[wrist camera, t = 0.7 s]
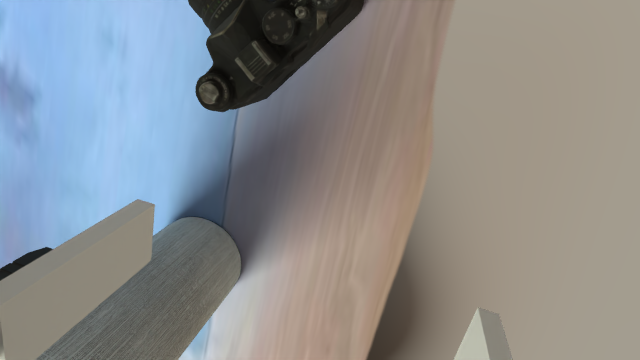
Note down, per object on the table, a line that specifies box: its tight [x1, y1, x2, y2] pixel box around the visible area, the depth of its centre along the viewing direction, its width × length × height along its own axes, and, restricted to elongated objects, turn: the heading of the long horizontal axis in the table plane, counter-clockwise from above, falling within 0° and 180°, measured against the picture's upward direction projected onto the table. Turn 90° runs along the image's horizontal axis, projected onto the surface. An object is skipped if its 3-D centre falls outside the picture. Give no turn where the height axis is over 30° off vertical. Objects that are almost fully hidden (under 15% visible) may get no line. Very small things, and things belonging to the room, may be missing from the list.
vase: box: [35, 217, 241, 360], centre depth 33 cm, size 10×10×27 cm
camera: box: [188, 0, 364, 112], centre depth 31 cm, size 14×11×10 cm
